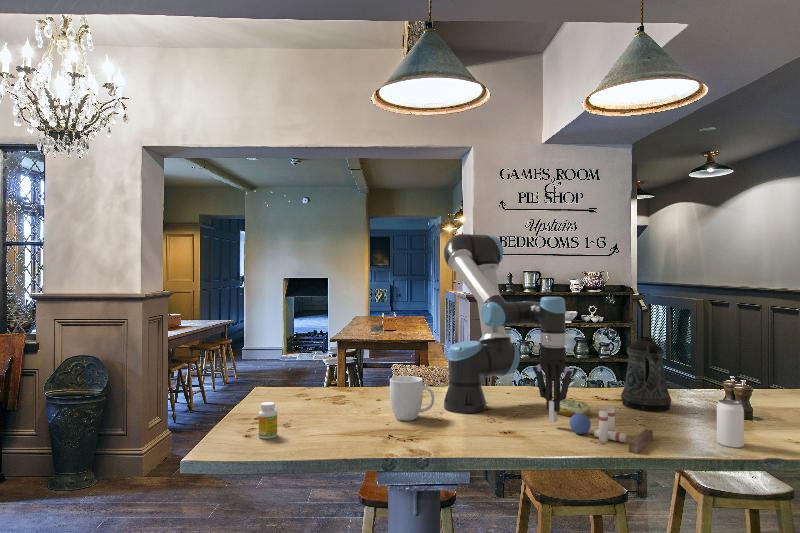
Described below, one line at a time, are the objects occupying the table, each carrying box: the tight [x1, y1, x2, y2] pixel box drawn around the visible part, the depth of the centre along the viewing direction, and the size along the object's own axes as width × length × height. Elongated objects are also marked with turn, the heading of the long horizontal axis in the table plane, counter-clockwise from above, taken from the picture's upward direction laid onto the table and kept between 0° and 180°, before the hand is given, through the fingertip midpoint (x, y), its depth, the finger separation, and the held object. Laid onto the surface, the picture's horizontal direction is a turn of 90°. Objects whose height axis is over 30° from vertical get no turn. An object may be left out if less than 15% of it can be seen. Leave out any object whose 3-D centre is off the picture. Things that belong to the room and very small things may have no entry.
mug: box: [389, 375, 435, 422], centre depth 173 cm, size 15×11×13 cm
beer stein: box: [620, 336, 672, 413], centre depth 188 cm, size 16×19×25 cm
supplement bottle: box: [258, 401, 278, 440], centre depth 154 cm, size 5×5×10 cm
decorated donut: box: [557, 399, 591, 418], centre depth 179 cm, size 11×12×4 cm
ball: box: [569, 413, 592, 435], centre depth 156 cm, size 6×6×6 cm
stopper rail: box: [628, 428, 654, 455], centre depth 146 cm, size 2×16×2 cm, turn 140°
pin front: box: [593, 428, 628, 443], centre depth 151 cm, size 2×2×8 cm
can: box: [716, 399, 745, 449], centre depth 147 cm, size 6×6×12 cm
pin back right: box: [598, 409, 609, 443], centre depth 150 cm, size 2×2×8 cm
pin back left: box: [605, 405, 616, 432], centre depth 154 cm, size 2×2×8 cm
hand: (553, 421), depth 163 cm, fingers closed
